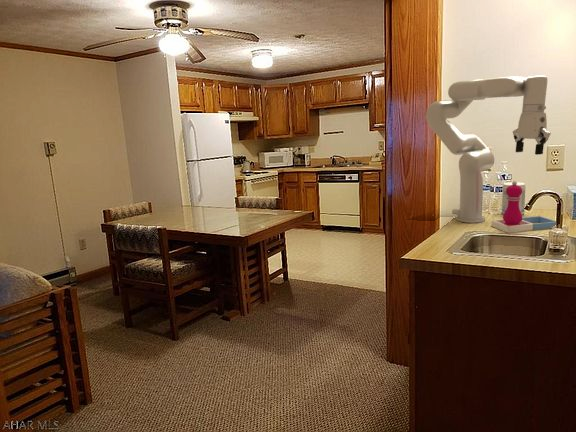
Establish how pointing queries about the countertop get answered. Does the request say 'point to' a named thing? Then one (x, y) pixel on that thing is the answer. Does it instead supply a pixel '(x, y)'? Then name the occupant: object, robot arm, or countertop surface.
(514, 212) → the pepper mill
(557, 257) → the countertop surface
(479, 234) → the countertop surface
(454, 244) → the countertop surface
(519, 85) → the robot arm
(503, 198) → the supplement tub
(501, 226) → the frame
